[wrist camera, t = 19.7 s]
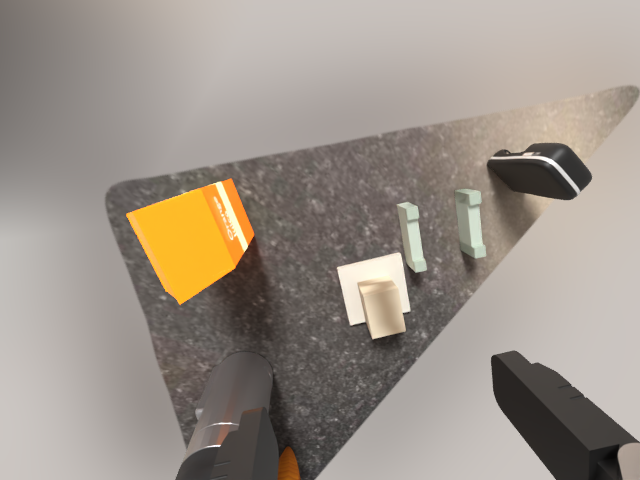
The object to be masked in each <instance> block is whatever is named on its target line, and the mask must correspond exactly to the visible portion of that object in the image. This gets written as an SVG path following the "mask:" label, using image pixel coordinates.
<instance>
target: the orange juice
mask: <svg viewBox="0 0 640 480" xmlns="http://www.w3.org/2000/svg"><path fill="white" fill-rule="evenodd" d="M126 215H127V217H128V219H129V221H130V223H131V225H132V227H133V229H134V231H135V233H136V234H137V236H138V238H139V240H140V242H141V244H142V246H143V248H144V250H145V252H146V254H147V256H148V258H149V259H150V261H151V263H152V265H153V267H154V269H155V271H156V273H157V275H158V277H159V279H160V281H161V282H162V284H163V286H164V288H165V290H166V292H169V293H170V294H171V295H172V296H173V297H174V298H176V299H177V300H178V302H179V304H182V303H183V302H185V301H186V300H188V299H189V298H191V297H192V296H194V295H195V294H197V293H198V292H200V291H201V290H203V289H204V288H206V287H207V286H209V285H210V284H212V283H213V282H215V281H216V280H218V279H219V278H221V277H222V276H224V275H225V274H227V273H228V272H230V271H231V270H233V269H234V268H235V266H236V265H237V263H238V261H239V260H240V258H241V256H242V255H243V253H244V252H245V251H246V249H247V247H248V245H249V243H250V241H251V240H252V238H253V236H254V233H253V230H252V228H251V225H250V223H249V220H248V218H247V215H246V213H245V211H244V208H243V206H242V203H241V201H240V198H239V196H238V193H237V191H236V189H235V186H234V184H233V181H232V179H229V180H225V181H222V182H218V183H215V184H212V185H209V186H206V187H203V188H200V189H199V188H198V189H197V190H194V191H191V192H188V193H187V192H186V193H185V194H182V195H180V196H179V195H178V196H177V197H174V198H171V199H168V200H165V201H162V202H161V201H160V202H159V203H157V204H154V205H151V206H148V207H145V208H142V209H139V210H137V211H134V212H131V213H128V214H126Z"/></svg>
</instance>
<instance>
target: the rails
mask: <svg viewBox="0 0 640 480" xmlns="http://www.w3.org/2000/svg"><path fill="white" fill-rule="evenodd" d="M454 193H455V202H456V212H457V221H458V230H459V239H460V248H461V251H463V252H465V253H466V254H468V255H470V256H472V257H473V258H475V259H476V258H480V257H484V256H486V249H485V245H483V244H482V234H481V222H480V211H479V203H482V202H481V191H475V190H470V189H460V190H456V191H454ZM397 209H398V215H399V221H400V227H401V234H402V240H403V246H404V252H405V258H406V263H407V264H408V265H409V266H410V267H411V268H412V269H413V270H414V271H415V272H416V273H417V272H421V271H425V270H427V269H426V262H425V259H423V252H422V245H421V239H420V232H419V225H418V218H419V213H418V206H415V205H413V204H411V203H408V202H406V203H401V204H397Z"/></svg>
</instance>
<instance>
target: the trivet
mask: <svg viewBox="0 0 640 480" xmlns="http://www.w3.org/2000/svg"><path fill="white" fill-rule="evenodd" d="M337 270H338V275H339V279H340V283H341V288H342V292H343V297H344V301H345V305H346V310H347V314H348V319H349V323H350V325H354V324H359V323H363V322H366V321H365V317H364V312H363V307H362V303H361V298H360V293H359V289H358V284H357V283H358V282H362V281H366V280H370V279H374V278H378V277H383V276H387V275H389V277H390V278H391V279H392V281H393V282H394V283H395V285H396V286H397V287H398V290H399V295H400V301H401V307H402V312H403V313H405V312H409V311H410V306H409V300H408V294H407V288H406V281H405V275H404V269H403V263H402V257H401V254H400V253H395V254H391V255H387V256H382V257H378V258H374V259H370V260H365V261H361V262H357V263H353V264H349V265H344V266H340V267H337Z"/></svg>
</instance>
